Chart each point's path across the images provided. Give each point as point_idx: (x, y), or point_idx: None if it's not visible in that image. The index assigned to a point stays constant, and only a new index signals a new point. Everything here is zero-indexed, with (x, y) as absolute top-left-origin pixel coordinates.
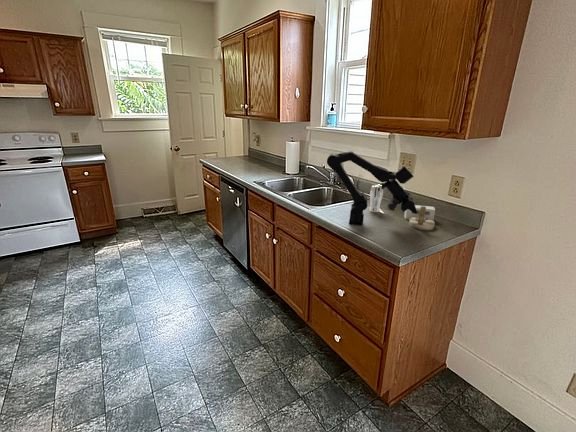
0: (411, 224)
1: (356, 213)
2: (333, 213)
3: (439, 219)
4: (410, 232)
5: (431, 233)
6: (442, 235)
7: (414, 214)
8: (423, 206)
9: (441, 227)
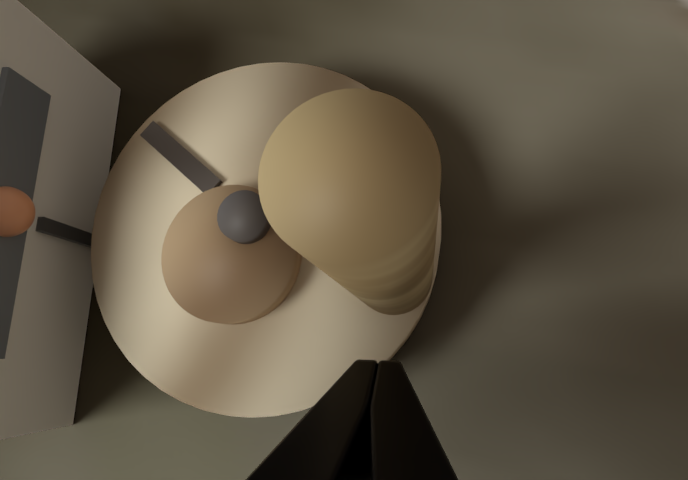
0: None
1: None
2: None
3: None
4: (581, 440)
5: (514, 153)
6: (537, 37)
7: (21, 304)
8: (298, 161)
9: (269, 19)
